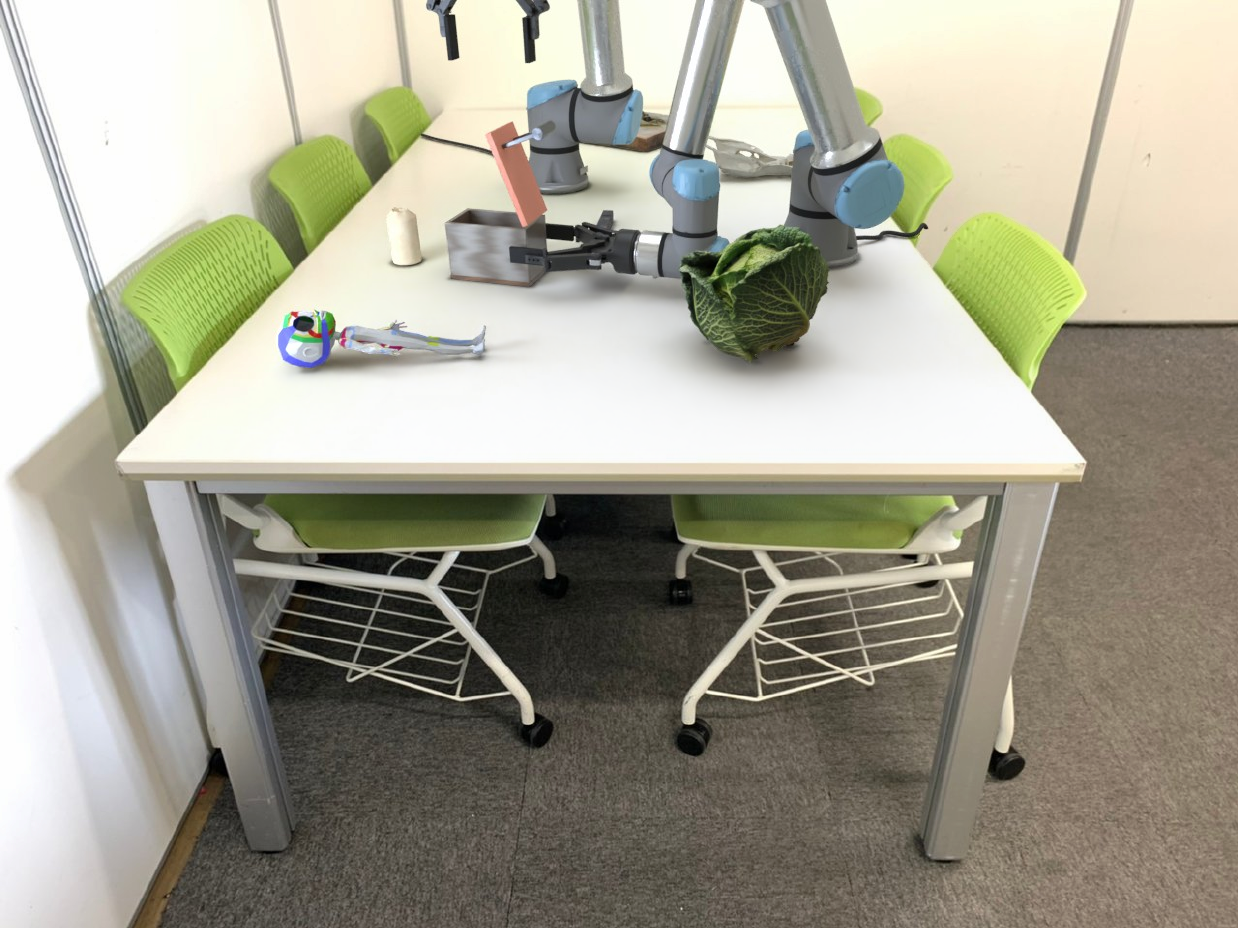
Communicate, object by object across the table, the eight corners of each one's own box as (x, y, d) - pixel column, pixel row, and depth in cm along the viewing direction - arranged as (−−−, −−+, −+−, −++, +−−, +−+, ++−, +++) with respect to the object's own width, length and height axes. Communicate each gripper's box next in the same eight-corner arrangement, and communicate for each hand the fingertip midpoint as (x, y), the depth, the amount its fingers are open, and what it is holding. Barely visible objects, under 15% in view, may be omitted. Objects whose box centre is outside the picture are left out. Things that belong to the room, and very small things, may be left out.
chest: (451, 278, 164) (444, 223, 158) (472, 261, 171) (467, 208, 165) (529, 287, 159) (525, 230, 154) (548, 269, 167) (545, 214, 161)
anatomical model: (702, 130, 224) (803, 129, 220) (702, 168, 229) (801, 167, 225) (697, 145, 212) (805, 144, 208) (697, 184, 216) (802, 184, 213)
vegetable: (713, 374, 144) (652, 267, 136) (810, 307, 145) (755, 197, 138) (765, 401, 126) (698, 280, 118) (875, 325, 127) (816, 200, 119)
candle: (427, 257, 173) (420, 205, 168) (412, 267, 168) (405, 214, 163) (402, 254, 174) (394, 203, 169) (387, 264, 170) (378, 211, 165)
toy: (485, 337, 129) (268, 320, 125) (482, 389, 134) (272, 374, 129) (486, 310, 138) (283, 293, 133) (484, 360, 142) (287, 345, 138)
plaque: (647, 125, 237) (559, 112, 252) (647, 153, 241) (560, 139, 256) (706, 107, 258) (622, 97, 273) (705, 133, 262) (622, 121, 277)
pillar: (613, 210, 190) (600, 241, 173) (613, 220, 191) (600, 251, 174) (603, 210, 190) (589, 240, 173) (603, 220, 191) (589, 251, 174)
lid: (484, 134, 147) (532, 117, 143) (507, 123, 155) (552, 106, 151) (522, 227, 154) (568, 212, 150) (542, 212, 161) (586, 197, 157)
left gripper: (392, -92, 134) (411, 61, 146) (547, -94, 128) (555, 67, 139) (416, -93, 140) (433, 55, 152) (565, -95, 134) (571, 59, 145)
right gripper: (617, 299, 147) (498, 286, 152) (658, 250, 167) (552, 240, 172) (616, 255, 143) (494, 243, 148) (659, 210, 163) (550, 201, 168)
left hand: (491, 61), depth 145 cm, fingers open, 13 cm apart
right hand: (525, 242), depth 160 cm, fingers open, 13 cm apart
